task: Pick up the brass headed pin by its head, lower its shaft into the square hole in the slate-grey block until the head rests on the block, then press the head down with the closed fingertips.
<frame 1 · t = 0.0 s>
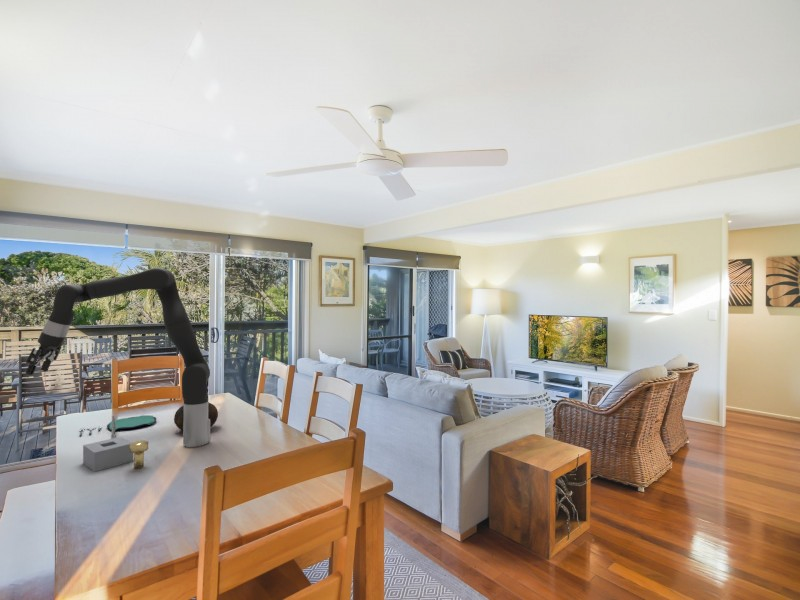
hand: (36, 372, 156), 31 cm above the table, tool tilted 20°, fingers open, 8 cm apart
dark brown ellipsoid: (196, 430, 187), on the table
brass pin: (138, 467, 145), on the table
slate block: (108, 461, 149), on the table
tow hook: (106, 447, 165), on the table
cutlery set: (119, 428, 191), on the table
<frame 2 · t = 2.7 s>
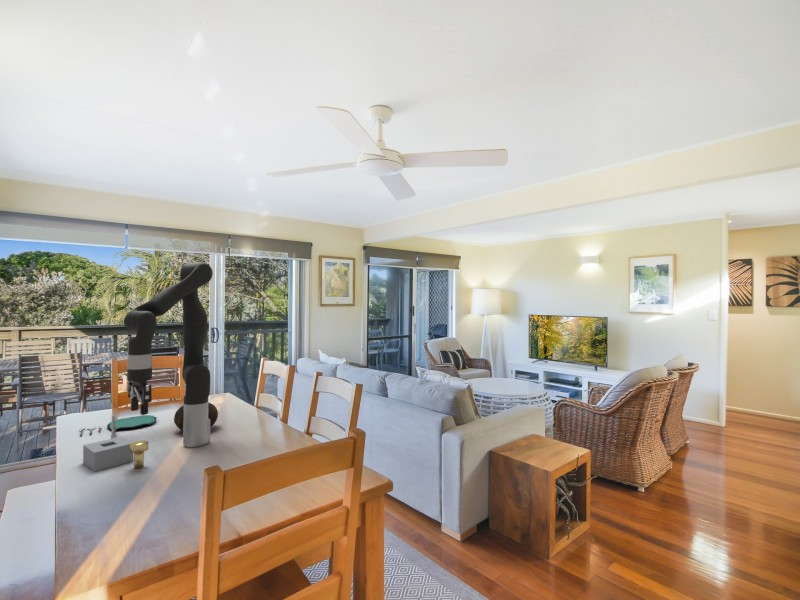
hand: (139, 412, 145), 19 cm above the table, tool pointing down, fingers open, 8 cm apart
nothing on the table moved.
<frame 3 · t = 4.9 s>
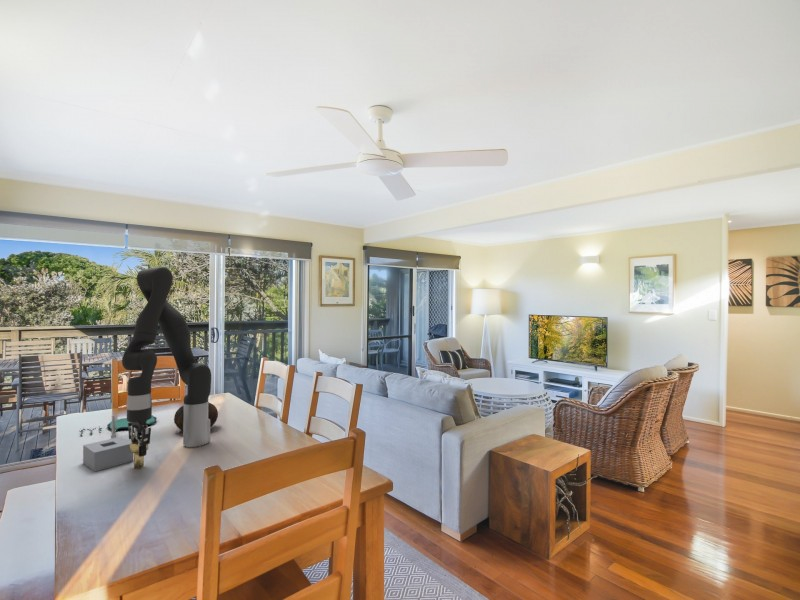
hand: (138, 453, 145), 5 cm above the table, tool pointing down, fingers closed on brass pin, 5 cm apart
brass pin: (138, 467, 145), on the table, touching gripper
everything else where it was.
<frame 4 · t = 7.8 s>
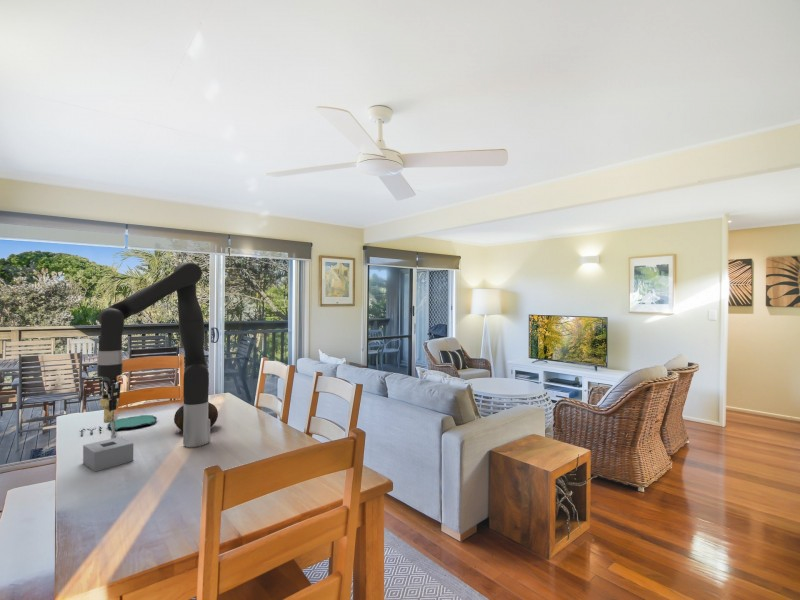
hand: (109, 408, 149), 20 cm above the table, tool pointing down, fingers closed on brass pin, 5 cm apart
brass pin: (108, 421, 149), point 15 cm above the table, touching gripper
everything else where it was.
when the fingers open (8 cm above the table, at t = 11.0 s): brass pin drops 3 cm, resting on slate block.
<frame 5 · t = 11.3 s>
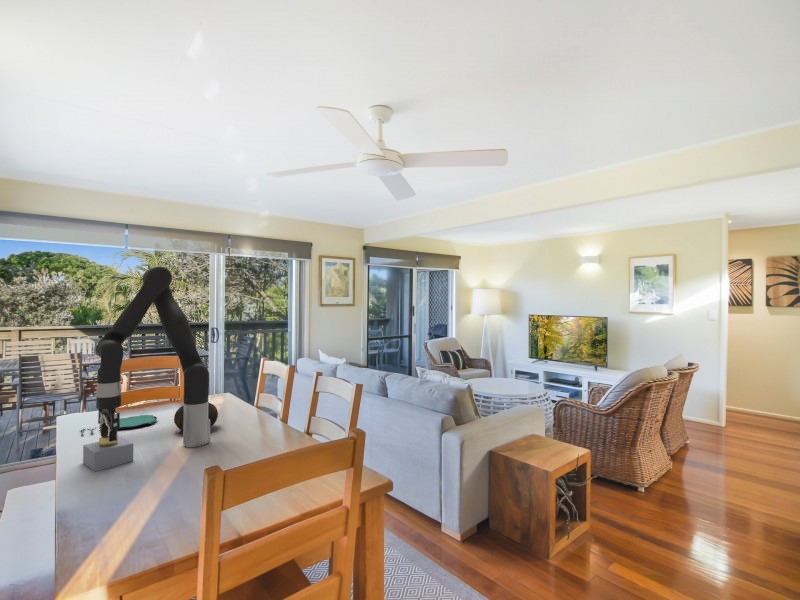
hand: (108, 438, 149), 9 cm above the table, tool pointing down, fingers open, 8 cm apart
brass pin: (108, 460, 149), resting on slate block
everything else where it was.
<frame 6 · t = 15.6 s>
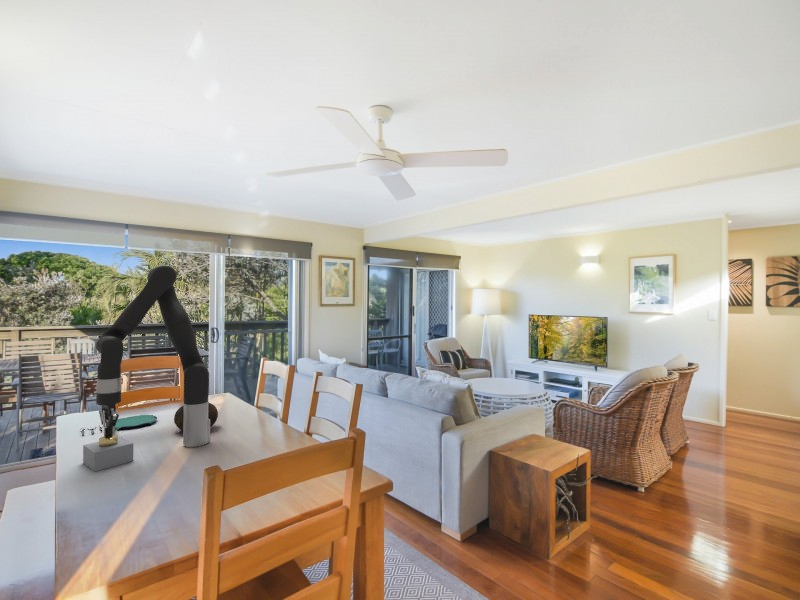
hand: (108, 437, 149), 9 cm above the table, tool pointing down, fingers closed
brass pin: (108, 460, 149), resting on slate block, touching gripper
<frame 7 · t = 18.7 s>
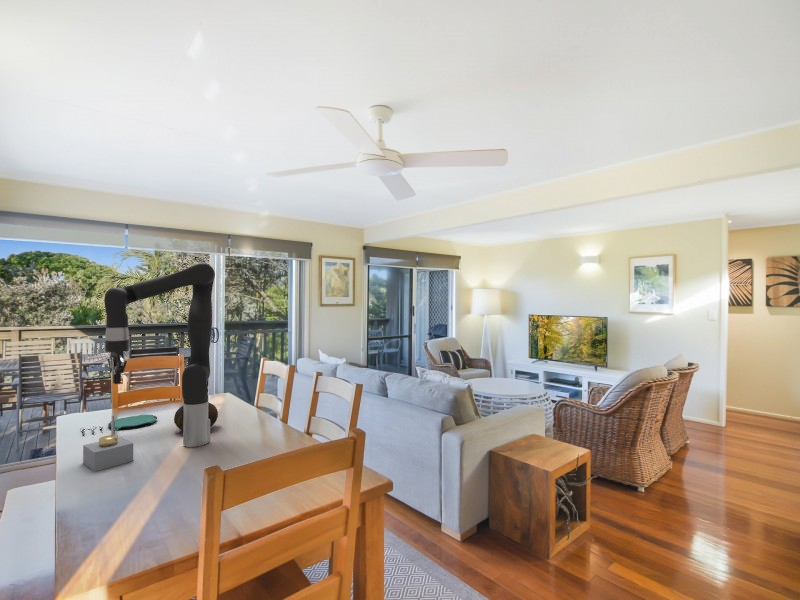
hand: (116, 383, 158), 27 cm above the table, tool pointing down, fingers closed
brass pin: (108, 460, 149), resting on slate block
at the end: brass pin 0.2 cm off-centre on the slate block, point 0.5 cm above the slate block's base; brass pin tilted 0°; the gripper is holding nothing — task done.
